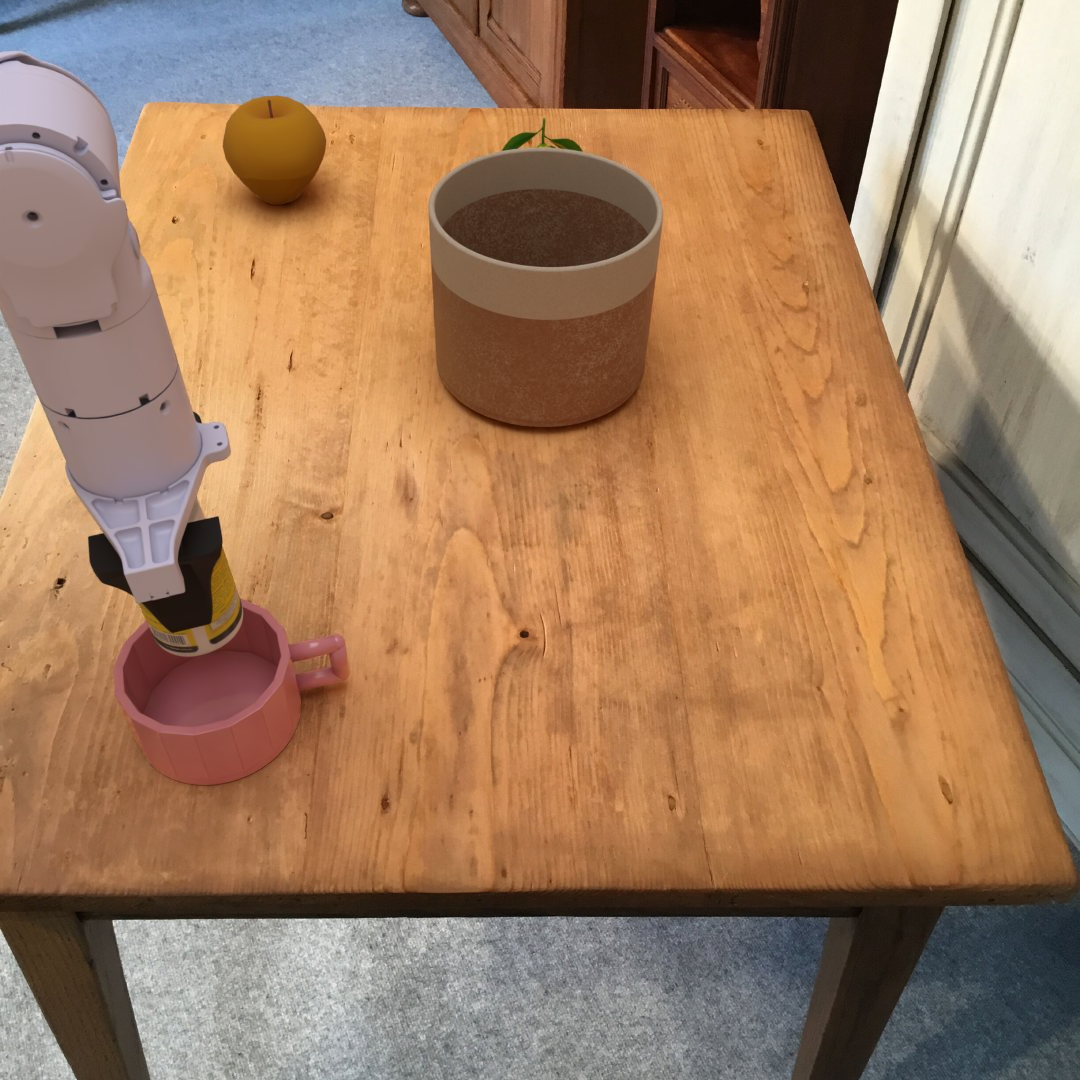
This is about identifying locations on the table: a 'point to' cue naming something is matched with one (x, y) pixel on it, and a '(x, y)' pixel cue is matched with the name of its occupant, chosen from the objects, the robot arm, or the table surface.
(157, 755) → the pink mug
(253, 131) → the apple
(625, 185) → the planter
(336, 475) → the table surface
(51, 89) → the robot arm
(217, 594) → the supplement bottle
